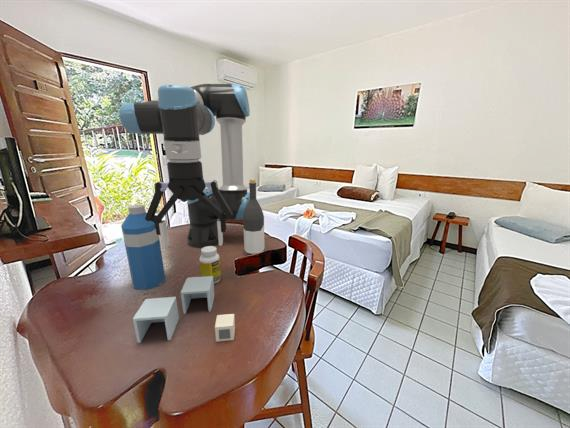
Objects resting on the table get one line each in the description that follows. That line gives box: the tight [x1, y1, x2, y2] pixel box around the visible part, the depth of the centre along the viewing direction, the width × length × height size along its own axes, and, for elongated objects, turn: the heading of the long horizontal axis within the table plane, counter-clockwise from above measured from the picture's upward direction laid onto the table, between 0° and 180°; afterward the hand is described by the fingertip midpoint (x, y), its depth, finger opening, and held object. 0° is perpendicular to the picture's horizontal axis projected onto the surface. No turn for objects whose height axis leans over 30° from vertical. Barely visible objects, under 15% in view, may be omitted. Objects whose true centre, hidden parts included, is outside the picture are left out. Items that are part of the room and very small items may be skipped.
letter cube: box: [214, 313, 236, 342], centre depth 56 cm, size 4×4×4 cm
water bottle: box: [120, 204, 166, 291], centre depth 74 cm, size 9×9×25 cm
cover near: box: [132, 296, 180, 344], centre depth 57 cm, size 7×7×6 cm
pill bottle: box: [199, 245, 222, 285], centre depth 78 cm, size 6×6×11 cm
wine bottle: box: [242, 178, 266, 256], centre depth 94 cm, size 8×8×30 cm
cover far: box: [180, 276, 215, 315], centre depth 66 cm, size 7×7×6 cm
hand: (194, 244), depth 63 cm, fingers open, 13 cm apart
